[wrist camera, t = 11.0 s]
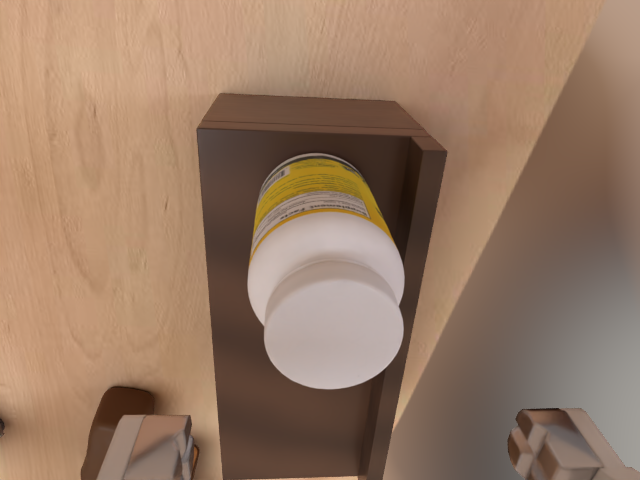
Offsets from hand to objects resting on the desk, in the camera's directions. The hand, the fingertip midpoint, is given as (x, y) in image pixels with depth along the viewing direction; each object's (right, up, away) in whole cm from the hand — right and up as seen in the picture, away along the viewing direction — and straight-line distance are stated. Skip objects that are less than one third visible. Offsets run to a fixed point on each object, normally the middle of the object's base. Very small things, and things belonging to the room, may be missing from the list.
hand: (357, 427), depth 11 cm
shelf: (-3, +2, +26) cm, 26 cm away
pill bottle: (-1, +7, +14) cm, 15 cm away
